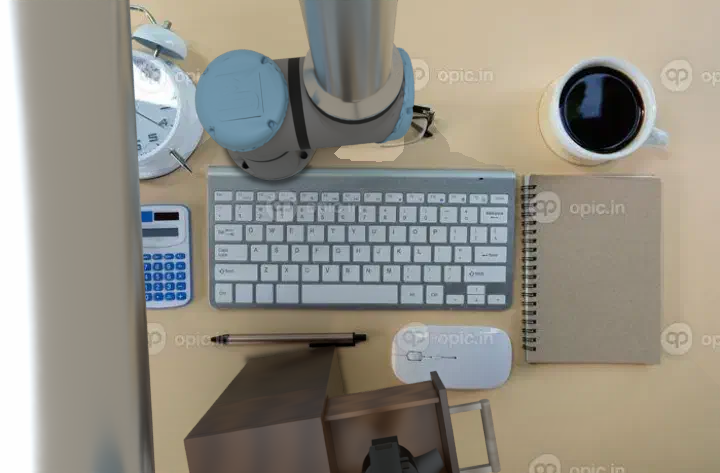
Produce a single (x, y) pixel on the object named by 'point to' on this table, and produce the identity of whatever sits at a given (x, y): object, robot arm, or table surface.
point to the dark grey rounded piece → (414, 462)
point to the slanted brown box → (269, 417)
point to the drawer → (402, 425)
